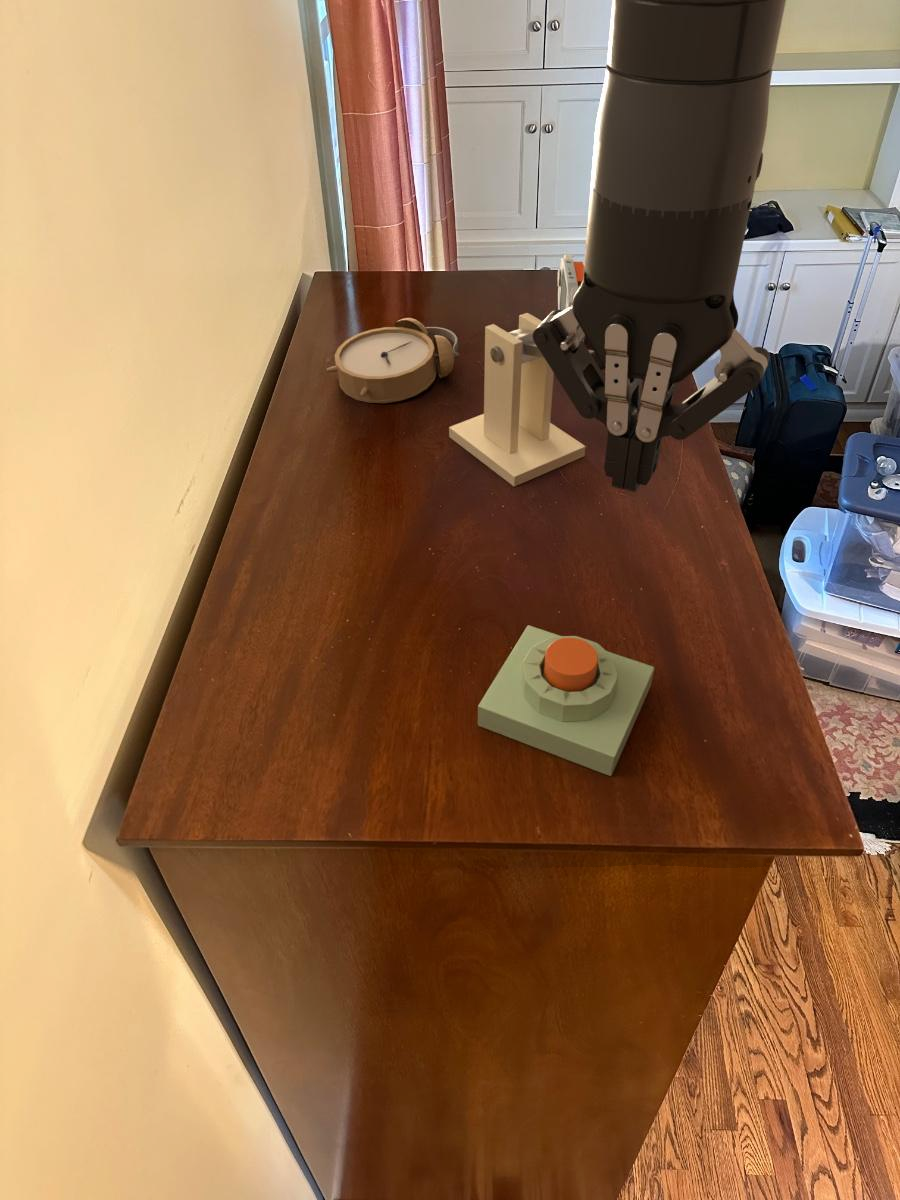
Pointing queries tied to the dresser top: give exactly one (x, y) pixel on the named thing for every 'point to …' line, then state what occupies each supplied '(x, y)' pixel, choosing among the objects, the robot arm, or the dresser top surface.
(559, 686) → the button
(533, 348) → the lever
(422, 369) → the alarm clock
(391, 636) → the dresser top surface
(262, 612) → the dresser top surface
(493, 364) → the bracket
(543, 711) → the button block
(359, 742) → the dresser top surface
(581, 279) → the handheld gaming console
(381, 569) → the dresser top surface
